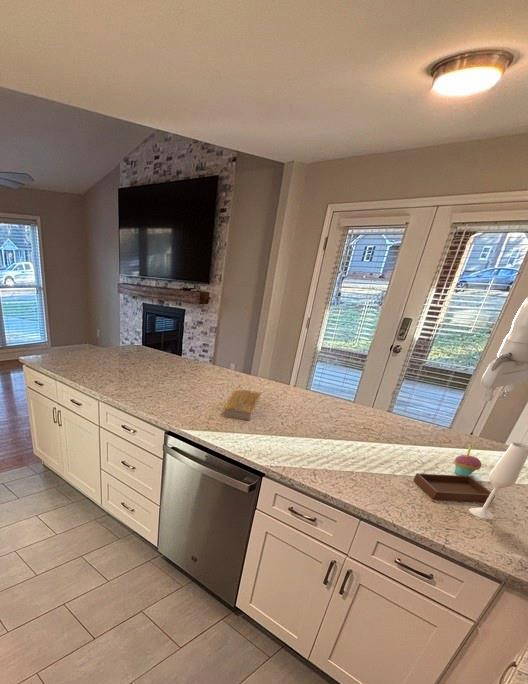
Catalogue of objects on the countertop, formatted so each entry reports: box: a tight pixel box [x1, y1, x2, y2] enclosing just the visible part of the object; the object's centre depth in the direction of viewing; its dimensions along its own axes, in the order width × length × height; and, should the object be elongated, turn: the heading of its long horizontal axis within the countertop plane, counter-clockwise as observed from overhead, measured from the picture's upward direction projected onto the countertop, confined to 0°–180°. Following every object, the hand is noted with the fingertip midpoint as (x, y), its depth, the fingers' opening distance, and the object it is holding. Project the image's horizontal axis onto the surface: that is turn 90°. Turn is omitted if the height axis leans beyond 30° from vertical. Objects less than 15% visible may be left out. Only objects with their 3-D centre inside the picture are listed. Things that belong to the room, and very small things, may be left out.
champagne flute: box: [469, 441, 528, 520], centre depth 128 cm, size 7×7×24 cm
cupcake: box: [453, 444, 482, 476], centre depth 155 cm, size 9×8×12 cm
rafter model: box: [222, 389, 262, 421], centre depth 210 cm, size 35×14×6 cm, turn 160°
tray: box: [412, 472, 496, 504], centre depth 145 cm, size 20×14×3 cm
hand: (494, 398), depth 128 cm, fingers open, 8 cm apart
